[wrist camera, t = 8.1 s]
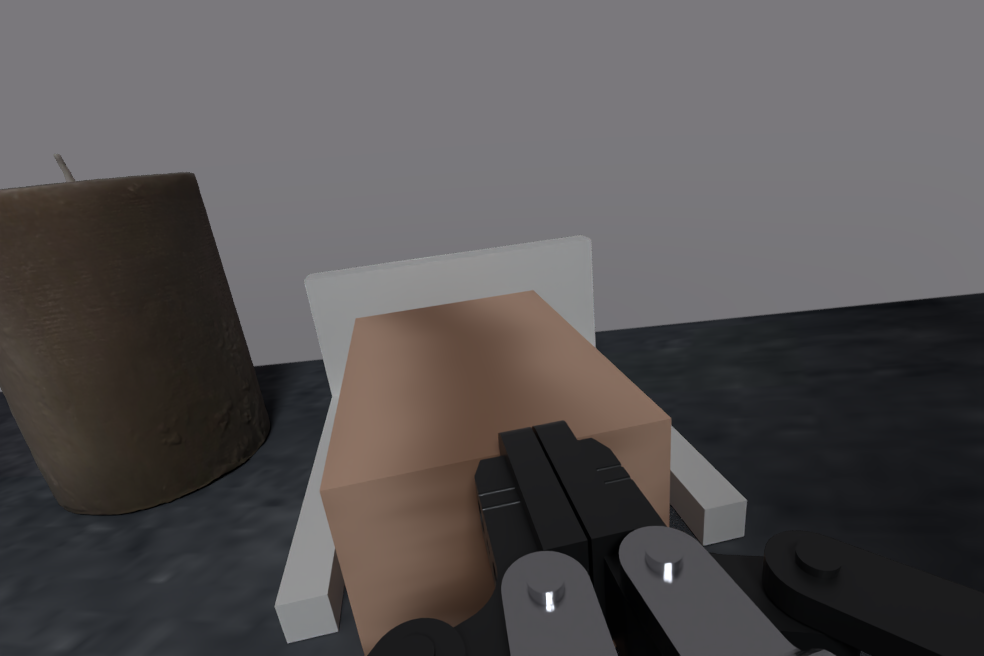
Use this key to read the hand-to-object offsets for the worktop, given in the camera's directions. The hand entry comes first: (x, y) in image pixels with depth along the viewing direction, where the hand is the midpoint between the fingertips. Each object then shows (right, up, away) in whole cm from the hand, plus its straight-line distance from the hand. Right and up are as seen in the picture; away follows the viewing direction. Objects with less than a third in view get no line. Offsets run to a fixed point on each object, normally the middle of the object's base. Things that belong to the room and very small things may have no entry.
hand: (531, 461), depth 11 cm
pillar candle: (-18, -4, +15) cm, 23 cm away
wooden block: (-1, -4, +8) cm, 9 cm away
